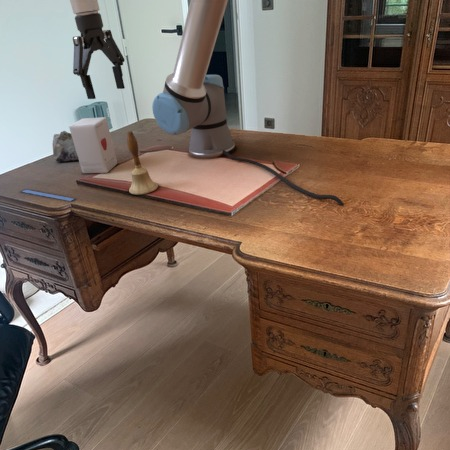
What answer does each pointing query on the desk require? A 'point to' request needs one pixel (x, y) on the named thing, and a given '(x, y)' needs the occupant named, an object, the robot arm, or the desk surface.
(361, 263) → the desk surface
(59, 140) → the mineral rock
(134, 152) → the hand bell
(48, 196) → the tape line
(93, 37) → the robot arm
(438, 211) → the desk surface
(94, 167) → the rectangular carton
